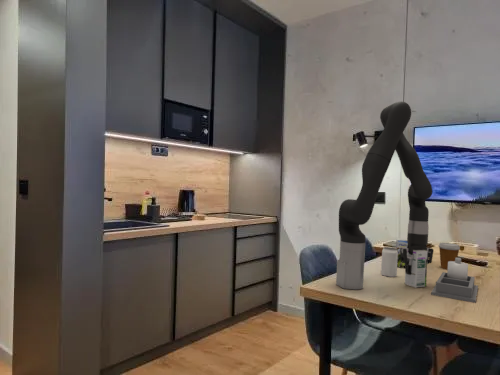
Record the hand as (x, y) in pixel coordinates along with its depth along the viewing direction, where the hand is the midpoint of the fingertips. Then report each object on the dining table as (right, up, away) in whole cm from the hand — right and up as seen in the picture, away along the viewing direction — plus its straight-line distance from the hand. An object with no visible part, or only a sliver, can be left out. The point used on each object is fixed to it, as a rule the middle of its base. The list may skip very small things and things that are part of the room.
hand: (415, 273), depth 151 cm
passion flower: (+10, -5, +37) cm, 38 cm away
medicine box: (+23, -5, +68) cm, 72 cm away
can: (-5, -4, +15) cm, 17 cm away
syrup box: (0, -5, 0) cm, 5 cm away
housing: (+13, -5, -6) cm, 15 cm away
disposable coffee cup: (+32, -6, +36) cm, 48 cm away
